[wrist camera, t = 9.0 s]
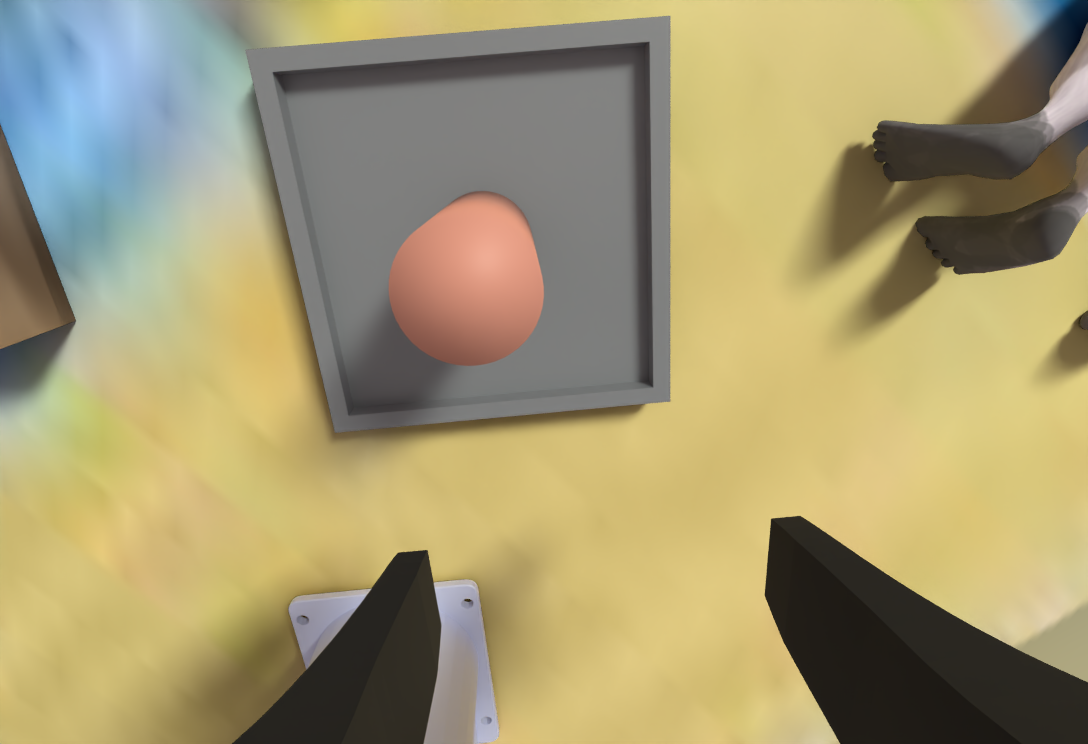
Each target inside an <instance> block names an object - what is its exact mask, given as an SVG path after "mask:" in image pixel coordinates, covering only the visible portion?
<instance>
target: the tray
mask: <svg viewBox="0 0 1088 744" xmlns="http://www.w3.org/2000/svg"><path fill="white" fill-rule="evenodd" d="M246 55H247V59H248V63H249V68H250V72H251V76H252V80H253V85H254V89H255V93H256V97H257V102H258V106H259V110H260V114H261V119H262V123H263V127H264V132H265V136H266V140H267V144H268V149H269V153H270V157H271V161H272V166H273V170H274V174H275V179H276V183H277V187H278V191H279V196H280V200H281V204H282V208H283V213H284V217H285V221H286V226H287V230H288V234H289V238H290V243H291V247H292V251H293V255H294V260H295V264H296V268H297V273H298V277H299V281H300V285H301V290H302V294H303V298H304V302H305V307H306V311H307V315H308V320H309V324H310V328H311V332H312V337H313V341H314V345H315V349H316V354H317V358H318V362H319V367H320V371H321V375H322V379H323V384H324V388H325V392H326V396H327V401H328V405H329V409H330V414H331V418H332V422H333V426H334V431H335V433H338V432H348V431H359V430H370V429H380V428H391V427H402V426H413V425H423V424H434V423H445V422H455V421H466V420H477V419H487V418H498V417H509V416H519V415H530V414H541V413H552V412H562V411H573V410H584V409H594V408H605V407H616V406H626V405H637V404H648V403H658V402H669V401H670V16H662V17H649V18H637V19H624V20H612V21H599V22H587V23H574V24H562V25H549V26H537V27H524V28H511V29H499V30H486V31H474V32H461V33H449V34H436V35H424V36H411V37H398V38H386V39H373V40H361V41H348V42H336V43H323V44H311V45H298V46H285V47H273V48H260V49H248V50H246ZM475 191H489V192H494V193H498V194H500V195H503V196H505V197H507V198H508V199H510V200H511V201H513V202H514V203H515V204H516V205H517V206H518V207H519V208H520V209H521V210H522V212H523V213H524V215H525V216H526V218H527V220H528V223H529V225H530V228H531V232H532V236H533V240H534V245H535V249H536V253H537V257H538V261H539V265H540V270H541V274H542V278H543V285H544V300H543V307H542V311H541V315H540V318H539V320H538V323H537V325H536V327H535V328H534V330H533V332H532V333H531V335H530V336H529V337H528V339H527V340H526V341H525V342H524V343H523V344H522V345H521V346H520V347H519V348H518V349H516V350H515V351H514V352H513V353H511V354H509V355H508V356H506V357H504V358H502V359H500V360H497V361H495V362H492V363H488V364H483V365H477V366H462V365H455V364H450V363H446V362H443V361H440V360H438V359H436V358H434V357H431V356H429V355H428V354H426V353H425V352H423V351H422V350H420V349H419V348H418V347H417V346H416V345H414V344H413V343H412V342H411V341H410V340H409V339H408V337H407V336H406V335H405V334H404V332H403V331H402V329H401V328H400V326H399V324H398V323H397V321H396V319H395V316H394V314H393V311H392V308H391V304H390V299H389V276H390V270H391V267H392V264H393V261H394V258H395V256H396V254H397V252H398V250H399V249H400V247H401V246H402V244H403V243H404V242H405V241H406V239H407V238H408V237H409V236H410V235H411V234H412V233H413V232H415V231H416V230H417V229H418V228H419V227H421V226H422V225H423V224H425V223H426V222H427V221H428V220H430V219H431V218H432V217H433V216H435V215H436V214H437V213H438V212H440V211H441V210H442V209H444V208H445V207H446V206H447V205H449V204H450V203H451V202H452V201H454V200H455V199H457V198H458V197H460V196H462V195H464V194H467V193H470V192H475Z"/></svg>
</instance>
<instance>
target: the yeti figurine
mask: <svg viewBox="0 0 1088 744" xmlns="http://www.w3.org/2000/svg"><path fill="white" fill-rule="evenodd" d="M1049 94H1050V100H1049V102H1048V103H1047V105H1046V106H1045V107H1044V109H1043V110H1041V111H1040V112H1039V113H1037V114H1034V115H1032V116H1030V117H1028V118H1025V119H1021V120H1018V121H1015V122H1008V123H997V124H962V125H937V124H915V123H907V122H897V121H881V122H879V124H878V126H877V129H878V130H876V131H875V132H874V133H873V135H872V137H873V139H875V141H874V143H873V147H874V148H875V149H877V151H876V152H875V154H874V157H875V159H876V160H877V161H879V162H885V164H884V166H883V169H884V174H885V176H886V177H887V178H888V179H889V180H890V181H913V180H921V179H926V178H931V177H936V176H948V175H965V174H969V175H974V176H979V177H984V178H989V179H1012V178H1014V177H1016V176H1017V175H1019V174H1021V173H1022V172H1023V171H1025V170H1026V169H1028V168H1029V167H1030V166H1031V165H1032V164H1033V163H1034V162H1035V160H1036V159H1037V157H1038V156H1039V155H1040V153H1042V152H1043V151H1044V150H1045V149H1046V148H1047V147H1048V146H1049V145H1050V144H1052V143H1053V142H1054V141H1055V140H1057V139H1058V138H1059V137H1061V136H1062V135H1063V134H1065V133H1066V132H1068V131H1069V130H1071V129H1072V128H1074V127H1076V126H1078V125H1079V124H1081V123H1083V122H1085V121H1087V120H1088V23H1087V24H1086V27H1085V29H1084V32H1083V34H1082V37H1081V40H1080V42H1079V44H1078V46H1077V48H1076V49H1075V51H1074V53H1073V54H1072V56H1071V57H1070V59H1069V60H1068V62H1067V63H1066V64H1065V66H1064V67H1063V69H1062V70H1061V72H1060V73H1059V75H1058V76H1057V78H1056V79H1055V80H1054V82H1053V84H1052V85H1051V87H1050V91H1049ZM1076 167H1077V170H1076V172H1075V175H1074V177H1073V179H1072V181H1071V183H1070V184H1069V185H1068V186H1067V188H1066V189H1064V190H1062V191H1061V192H1059V193H1057V194H1055V195H1052V196H1050V197H1047V198H1044V199H1042V200H1039V201H1037V202H1035V203H1032V204H1030V205H1028V206H1025V207H1023V208H1021V209H1018V210H1016V211H1014V212H1008V213H1002V214H996V215H990V216H970V217H947V216H924V217H922V218H919V219H918V220H917V222H916V227H917V231H918V232H919V233H920V234H921V235H922V236H923V237H928V239H927V241H926V243H925V244H926V247H927V248H928V249H929V250H934V251H933V253H932V254H933V256H934V257H935V258H939V259H943V260H942V262H941V264H942V266H944V267H952V266H954V269H953V271H954V272H955V273H956V274H959V275H960V274H969V273H986V272H992V271H998V270H1005V269H1011V268H1016V267H1022V266H1027V265H1031V264H1035V263H1039V262H1043V261H1046V260H1050V259H1053V258H1054V257H1056V256H1057V255H1058V254H1060V253H1061V251H1062V250H1063V248H1064V247H1065V245H1066V244H1067V242H1068V240H1069V238H1070V237H1071V235H1072V233H1073V231H1074V229H1075V227H1076V226H1077V224H1078V222H1079V221H1080V219H1081V218H1082V217H1083V216H1084V215H1085V214H1086V213H1087V212H1088V145H1087V146H1086V148H1085V149H1084V150H1083V151H1082V152H1081V153H1080V154H1079V155H1078V156H1077V161H1076ZM1079 324H1080V326H1081V327H1082V329H1087V330H1088V311H1087V312H1085V313H1084V314H1083V315H1082V317H1081V320H1080V323H1079Z"/></svg>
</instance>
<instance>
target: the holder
mask: <svg viewBox="0 0 1088 744" xmlns="http://www.w3.org/2000/svg"><path fill="white" fill-rule="evenodd" d="M74 321H76V320H75V317H74V315H73V312H72V310H71V307H70V304H69V302H68V299H67V297H66V294H65V292H64V289H63V286H62V284H61V281H60V279H59V276H58V273H57V271H56V268H55V266H54V263H53V260H52V258H51V255H50V253H49V250H48V247H47V245H46V242H45V240H44V237H43V234H42V232H41V229H40V227H39V224H38V221H37V219H36V216H35V214H34V211H33V208H32V206H31V203H30V201H29V198H28V195H27V193H26V190H25V188H24V185H23V183H22V180H21V177H20V175H19V172H18V170H17V167H16V164H15V162H14V159H13V157H12V154H11V151H10V149H9V146H8V144H7V141H6V138H5V136H4V133H3V131H2V128H1V125H0V349H2V348H4V347H7V346H10V345H12V344H15V343H18V342H20V341H23V340H26V339H28V338H31V337H34V336H36V335H39V334H42V333H44V332H47V331H50V330H52V329H55V328H58V327H60V326H63V325H66V324H68V323H71V322H74Z"/></svg>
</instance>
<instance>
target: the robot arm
mask: <svg viewBox="0 0 1088 744" xmlns="http://www.w3.org/2000/svg"><path fill="white" fill-rule="evenodd" d="M765 597H766V600H767V602H768V605H769V607H770V610H771V613H772V615H773V618H774V620H775V623H776V625H777V627H778V630H779V632H780V634H781V637H782V639H783V641H784V644H785V645H786V647H787V649H788V651H789V653H790V655H791V656H792V658H793V660H794V662H795V664H796V666H797V667H798V669H799V671H800V673H801V675H802V676H803V678H804V680H805V682H806V684H807V685H808V687H809V689H810V691H811V692H812V694H813V696H814V698H815V700H816V701H817V703H818V705H819V707H820V709H821V710H822V712H823V714H824V716H825V717H826V719H827V721H828V723H829V725H830V726H831V728H832V730H833V732H834V733H835V735H836V737H837V739H838V741H839V742H840V744H1088V682H1086V681H1083V680H1081V679H1079V678H1077V677H1075V676H1072V675H1070V674H1068V673H1066V672H1064V671H1061V670H1059V669H1057V668H1055V667H1053V666H1050V665H1048V664H1046V663H1044V662H1042V661H1040V660H1038V659H1036V658H1034V657H1032V656H1029V655H1027V654H1025V653H1023V652H1021V651H1019V650H1017V649H1015V648H1013V647H1011V646H1010V645H1008V644H1006V643H1004V642H1002V641H1000V640H998V639H996V638H994V637H992V636H990V635H989V634H987V633H985V632H983V631H981V630H979V629H977V628H975V627H973V626H972V625H970V624H968V623H966V622H964V621H963V620H961V619H959V618H957V617H955V616H954V615H952V614H950V613H949V612H947V611H945V610H944V609H942V608H940V607H939V606H937V605H935V604H934V603H932V602H930V601H929V600H927V599H925V598H924V597H922V596H920V595H919V594H917V593H915V592H914V591H912V590H911V589H909V588H907V587H906V586H904V585H903V584H901V583H899V582H898V581H896V580H895V579H893V578H892V577H890V576H889V575H887V574H886V573H884V572H883V571H881V570H880V569H878V568H877V567H875V566H874V565H872V564H871V563H869V562H868V561H866V560H865V559H863V558H862V557H860V556H859V555H857V554H856V553H854V552H853V551H851V550H850V549H849V548H847V547H846V546H844V545H843V544H841V543H840V542H838V541H837V540H835V539H834V538H833V537H831V536H830V535H828V534H827V533H825V532H824V531H822V530H821V529H819V528H818V527H816V526H815V525H813V524H812V523H810V522H809V521H807V520H806V519H804V518H803V517H801V516H795V517H784V518H773V519H771V528H770V539H769V551H768V563H767V575H766V587H765ZM464 599H470V600H472V601H470V602H466V601H464ZM288 609H289V614H290V617H291V621H292V624H293V627H294V631H295V634H296V637H297V640H298V644H299V647H300V650H301V654H302V657H303V660H304V663H305V667H306V671H305V672H304V673H303V674H302V675H301V676H300V677H299V679H298V680H297V681H296V682H295V683H294V684H293V685H292V686H291V687H290V688H289V689H288V690H287V691H286V693H285V694H284V695H283V696H282V697H281V698H280V699H279V700H278V701H277V702H276V703H275V704H274V705H273V706H272V707H271V708H270V709H269V710H268V711H267V712H266V713H265V714H264V715H263V716H262V717H261V718H260V719H259V720H258V721H257V722H256V723H255V724H254V725H252V726H251V727H250V728H249V729H248V730H247V731H246V732H245V733H244V734H242V735H241V736H240V737H239V738H238V739H237V740H236V741H235V742H234V743H232V744H478V743H487V742H492V741H494V740H496V739H497V738H498V737H499V723H498V716H497V710H496V703H495V696H494V690H493V683H492V676H491V670H490V663H489V656H488V650H487V643H486V636H485V630H484V623H483V616H482V610H481V603H480V596H479V590H478V586H477V584H476V583H475V582H474V581H472V580H468V579H463V580H453V581H443V582H433V577H432V572H431V567H430V561H429V556H428V551H427V550H423V551H412V552H401V553H398V554H397V555H396V556H395V557H394V558H393V559H392V561H391V562H390V564H389V565H388V566H387V568H386V569H385V571H384V572H383V573H382V575H381V576H380V578H379V579H378V580H377V582H376V583H375V584H374V586H373V587H372V589H362V590H352V591H342V592H332V593H322V594H312V595H302V596H297V597H295V598H294V599H293V600H292V602H291V604H290V606H289V608H288ZM301 615H304V616H306V617H308V618H304V617H302V616H301Z"/></svg>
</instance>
